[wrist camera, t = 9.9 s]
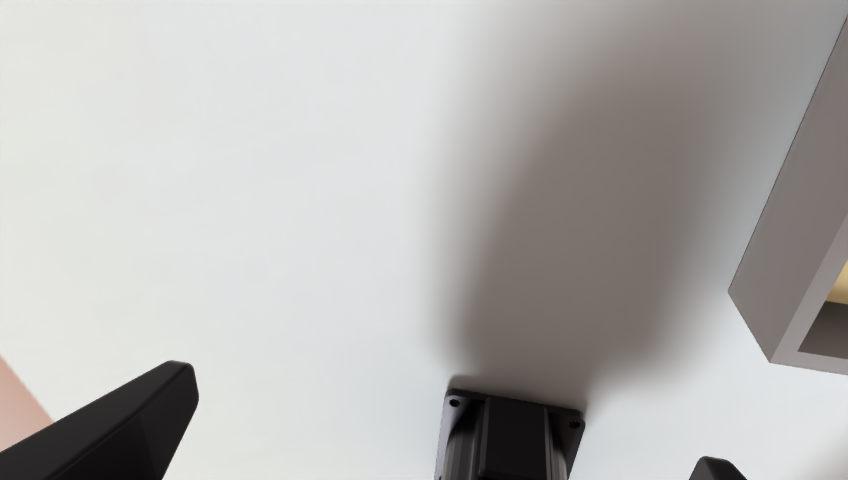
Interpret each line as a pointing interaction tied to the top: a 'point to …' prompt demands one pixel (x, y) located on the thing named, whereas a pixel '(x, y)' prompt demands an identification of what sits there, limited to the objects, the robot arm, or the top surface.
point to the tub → (805, 239)
